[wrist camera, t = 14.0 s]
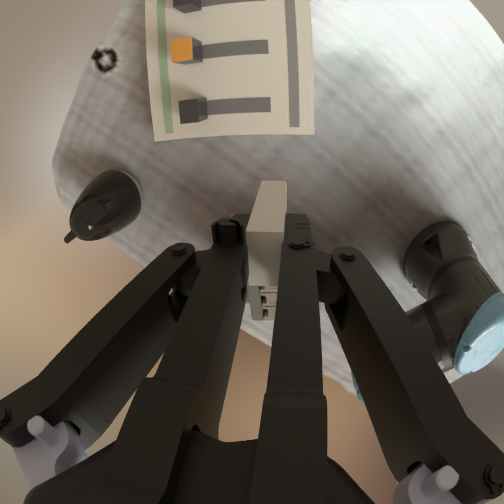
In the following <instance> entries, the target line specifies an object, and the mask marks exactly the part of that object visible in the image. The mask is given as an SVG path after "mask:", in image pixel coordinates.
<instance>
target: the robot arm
mask: <svg viewBox="0 0 504 504" xmlns="http://www.w3.org/2000/svg"><path fill="white" fill-rule="evenodd" d="M211 227H212V235H213V245H212V247H211V249H208V250H204V251H197V252H195V248H194V246H193V245H191V244H188V243H177V244H174V245H172V246H170V247H168V248H167V249H166V250H164V251H163V252H162V253H161V254H160V255H159V256H158V257H157V258H155V259H154V260H153V261H152V262H151V263H150V264H149V265H148V266H147V267H146V268H145V269H143V270H142V271H141V272H140V273H139V274H138V275H137V276H136V277H135V278H134V279H133V280H132V281H131V282H129V283H128V284H127V285H126V286H125V287H124V288H123V289H122V290H121V291H120V292H119V293H118V294H117V295H116V296H115V297H114V298H113V299H112V300H111V301H109V303H107V304H106V305H105V307H103V308H102V309H101V310H100V311H99V312H98V313H97V314H96V315H95V316H94V317H93V318H92V319H91V320H90V321H89V322H88V323H87V324H86V325H85V326H84V327H83V328H82V329H81V330H80V331H79V332H78V334H77V335H75V336H74V338H73V339H72V340H71V341H70V342H69V343H68V344H67V345H66V346H65V347H64V348H63V349H62V350H61V351H60V352H59V353H58V354H57V355H56V356H55V358H54V359H53V360H52V361H51V362H50V363H49V364H48V365H47V366H46V367H45V368H44V370H43V371H42V372H41V373H40V374H39V375H38V376H37V377H36V378H34V379H32V380H31V381H29V382H28V383H26V384H25V385H23V386H22V387H20V388H19V389H17V390H15V391H14V392H12V393H11V394H9V395H8V396H6V397H5V398H3V399H1V400H0V438H2V439H3V440H4V441H5V442H7V443H8V444H10V445H11V446H12V447H13V449H14V452H15V454H16V457H17V459H18V462H19V464H20V467H21V469H22V471H23V474H24V476H25V478H26V480H27V483H28V485H29V487H30V489H31V491H30V492H29V493H28V494H27V496H26V498H25V500H24V503H23V504H375V503H374V502H373V501H372V500H371V499H370V498H369V497H368V496H367V494H366V493H365V492H364V491H363V490H362V489H361V488H360V487H359V486H358V485H357V484H356V482H355V481H354V480H353V479H352V478H351V477H350V476H349V475H348V473H347V472H346V471H345V470H344V469H343V468H342V467H341V466H340V465H339V464H338V463H336V462H335V461H334V460H332V459H330V458H329V457H328V456H327V400H326V396H325V395H323V378H322V349H321V328H320V312H319V301H320V302H324V303H325V309H326V311H327V314H328V316H329V318H330V320H331V323H332V325H333V327H334V330H335V332H336V334H337V337H338V339H339V341H340V344H341V346H342V349H343V351H344V353H345V356H346V358H347V361H348V363H349V365H350V368H351V372H352V379H353V384H354V387H355V389H356V391H357V396H358V398H359V400H360V401H361V402H362V403H364V404H365V406H366V408H367V411H368V413H369V416H370V419H371V421H372V424H373V427H374V429H375V432H376V435H377V438H378V440H379V443H380V446H381V448H382V451H383V454H384V457H385V459H386V461H387V464H388V466H389V468H390V470H391V472H392V474H393V475H394V477H395V479H396V480H397V487H396V488H395V490H394V494H393V503H394V504H483V503H486V502H488V501H490V500H492V499H494V498H496V497H498V496H500V495H501V494H502V493H503V492H504V453H503V452H502V451H501V450H500V449H499V448H498V447H497V446H496V445H495V444H494V443H493V442H492V441H491V440H490V439H489V438H488V437H487V436H486V435H485V434H484V433H483V432H482V431H481V430H480V429H479V428H478V427H477V426H476V425H475V424H474V423H473V422H472V421H471V420H470V419H469V418H468V417H467V416H466V414H465V412H464V410H463V408H462V406H461V404H460V402H459V400H458V398H457V397H456V395H455V393H454V391H453V389H452V388H451V386H450V384H449V382H448V380H447V379H446V377H445V375H444V374H443V373H444V372H446V371H448V370H450V369H452V368H455V370H457V371H458V372H459V373H461V374H468V373H469V372H470V373H473V372H475V371H477V370H479V369H481V368H482V367H484V366H485V365H487V364H488V363H489V362H490V361H492V360H493V359H494V358H495V357H496V356H497V355H498V354H499V353H500V351H501V350H502V349H503V347H504V294H503V293H502V292H501V291H500V289H499V288H498V286H497V285H496V284H495V282H494V281H493V280H492V278H491V277H490V276H489V274H488V273H487V272H486V270H485V269H484V268H483V266H482V265H481V264H480V262H479V261H478V259H477V255H476V253H475V251H474V246H473V242H472V240H471V238H470V236H469V235H468V234H467V233H466V231H465V230H464V229H463V228H462V227H461V226H459V225H458V224H455V223H452V222H440V223H436V224H433V225H431V226H429V227H427V228H426V229H424V230H423V231H422V232H420V233H419V234H418V235H417V236H416V238H415V239H414V240H413V241H412V243H411V244H410V246H409V248H408V250H407V252H406V255H405V260H404V271H405V274H406V277H407V279H408V281H409V283H410V285H411V286H412V287H413V289H414V290H416V291H417V292H418V293H420V294H421V295H422V296H423V297H424V298H425V299H426V300H427V301H426V302H424V303H423V304H420V305H418V306H416V307H415V308H413V309H411V310H409V311H407V312H404V310H403V309H402V307H401V306H400V304H399V303H398V302H397V300H396V299H395V297H394V296H393V294H392V293H391V292H390V290H389V289H388V287H387V286H386V285H385V283H384V282H383V280H382V279H381V278H380V276H379V275H378V274H377V272H376V271H375V270H374V268H373V267H372V265H371V264H370V263H369V261H368V260H367V259H366V258H365V256H364V255H363V254H362V253H361V252H360V251H359V250H357V249H355V248H352V247H338V248H336V249H334V250H333V251H332V253H331V254H326V253H323V252H320V251H318V250H317V249H315V248H314V244H313V242H312V240H311V231H310V221H309V218H308V217H307V216H306V215H305V214H287V181H261V185H260V188H259V191H258V194H257V197H256V200H255V203H254V206H253V210H252V213H251V214H236V215H234V216H233V217H232V218H227V219H221V220H218V221H216V222H214V223H213V224H212V225H211ZM248 278H249V286H272V287H278V290H277V300H276V310H275V320H274V329H273V338H272V347H271V356H270V366H269V373H268V381H267V389H266V393H265V395H264V401H263V407H262V414H261V422H260V429H259V436H258V439H254V440H246V441H238V442H223V441H220V440H218V428H219V422H220V417H221V413H222V408H223V404H224V399H225V395H226V390H227V386H228V381H229V376H230V372H231V367H232V362H233V358H234V353H235V348H236V344H237V340H238V335H239V330H240V326H241V321H242V317H243V312H244V307H245V303H246V298H247V293H248V291H247V282H248ZM171 288H172V290H173V292H172V293H171V294H170V295H169V291H170V290H171ZM163 353H164V355H163ZM162 355H163V357H162V360H161V362H160V364H159V367H158V369H157V372H156V374H155V375H154V377H152V378H148V377H146V376H147V375H148V373H149V372H150V371H151V369H152V368H153V367H154V365H155V364H156V363H157V361H158V360H159V358H160V357H161V356H162ZM145 377H146V378H145ZM136 389H137V391H136ZM135 391H136V393H135V396H134V398H133V400H132V403H131V405H130V407H129V410H128V412H127V415H126V417H125V419H124V422H123V424H122V427H121V429H120V432H119V434H118V437H117V440H116V441H114V442H112V443H111V444H109V445H108V446H106V447H104V448H103V449H101V450H100V451H98V452H96V453H94V454H93V455H91V456H90V457H88V456H87V454H86V453H85V450H86V449H87V448H88V447H90V446H91V445H92V444H93V443H94V442H95V441H96V440H97V439H98V438H99V437H101V435H102V434H103V433H104V432H105V431H106V429H107V428H108V427H109V426H110V424H111V423H112V422H113V420H114V419H115V418H116V416H117V415H118V413H119V412H120V411H121V410H122V408H123V407H124V405H125V404H126V403H127V401H128V400H129V399H130V397H131V396H132V395H133V393H134V392H135Z"/></svg>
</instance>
